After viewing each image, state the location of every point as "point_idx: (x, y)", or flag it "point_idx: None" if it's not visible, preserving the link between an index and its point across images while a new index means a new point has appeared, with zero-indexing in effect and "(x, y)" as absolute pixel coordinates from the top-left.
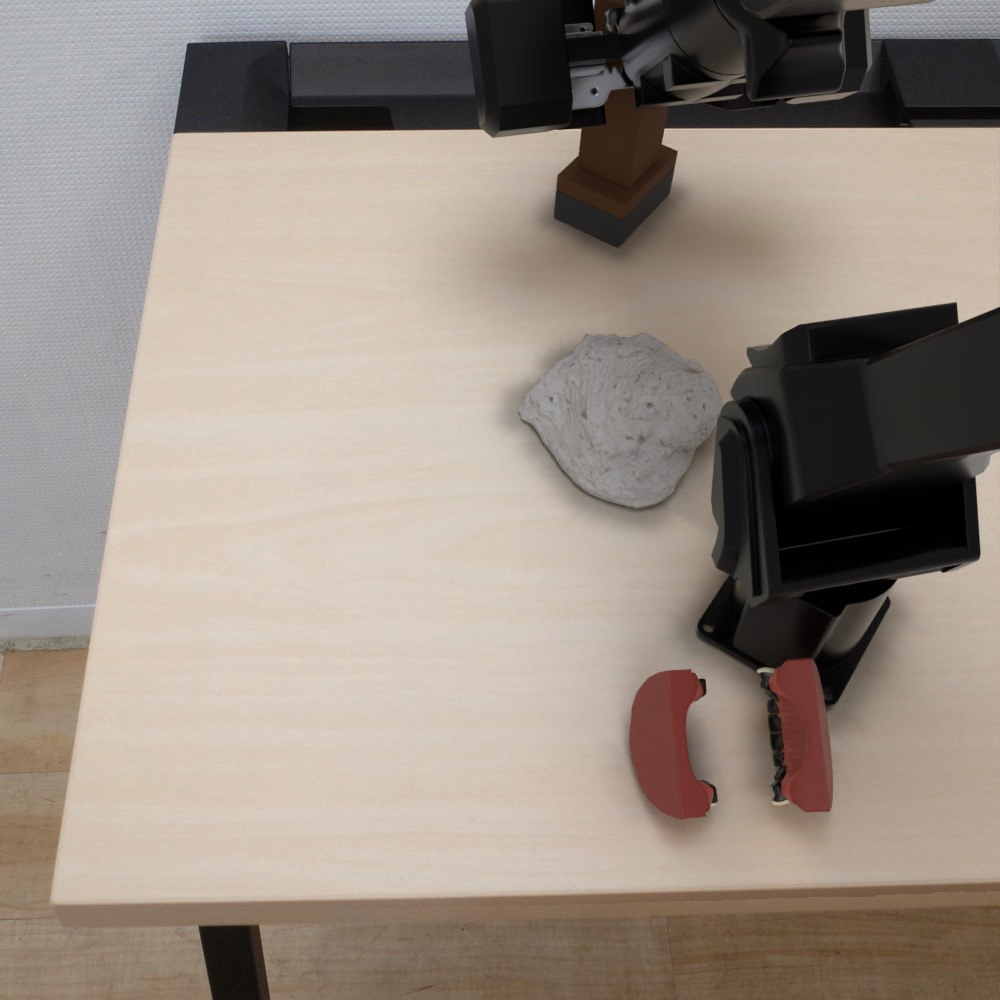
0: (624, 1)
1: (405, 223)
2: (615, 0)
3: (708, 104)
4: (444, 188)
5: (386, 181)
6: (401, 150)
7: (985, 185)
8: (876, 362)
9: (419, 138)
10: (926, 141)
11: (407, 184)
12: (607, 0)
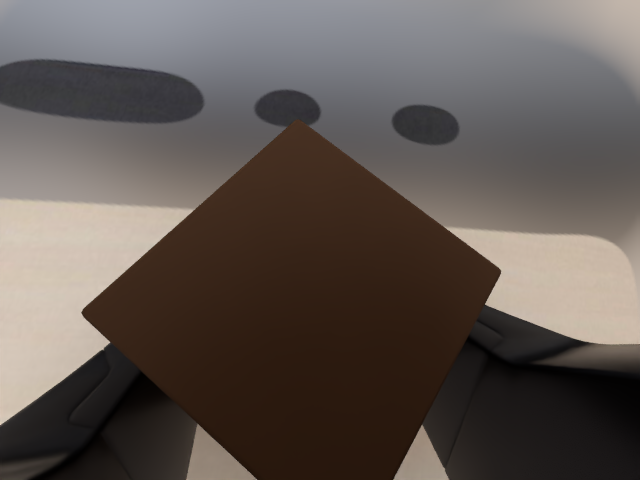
0: (213, 378)
1: (33, 351)
2: (167, 371)
3: (446, 471)
4: (103, 288)
5: (35, 272)
6: (71, 221)
7: (633, 308)
8: None
9: (98, 204)
10: (582, 244)
11: (59, 279)
12: (131, 357)
